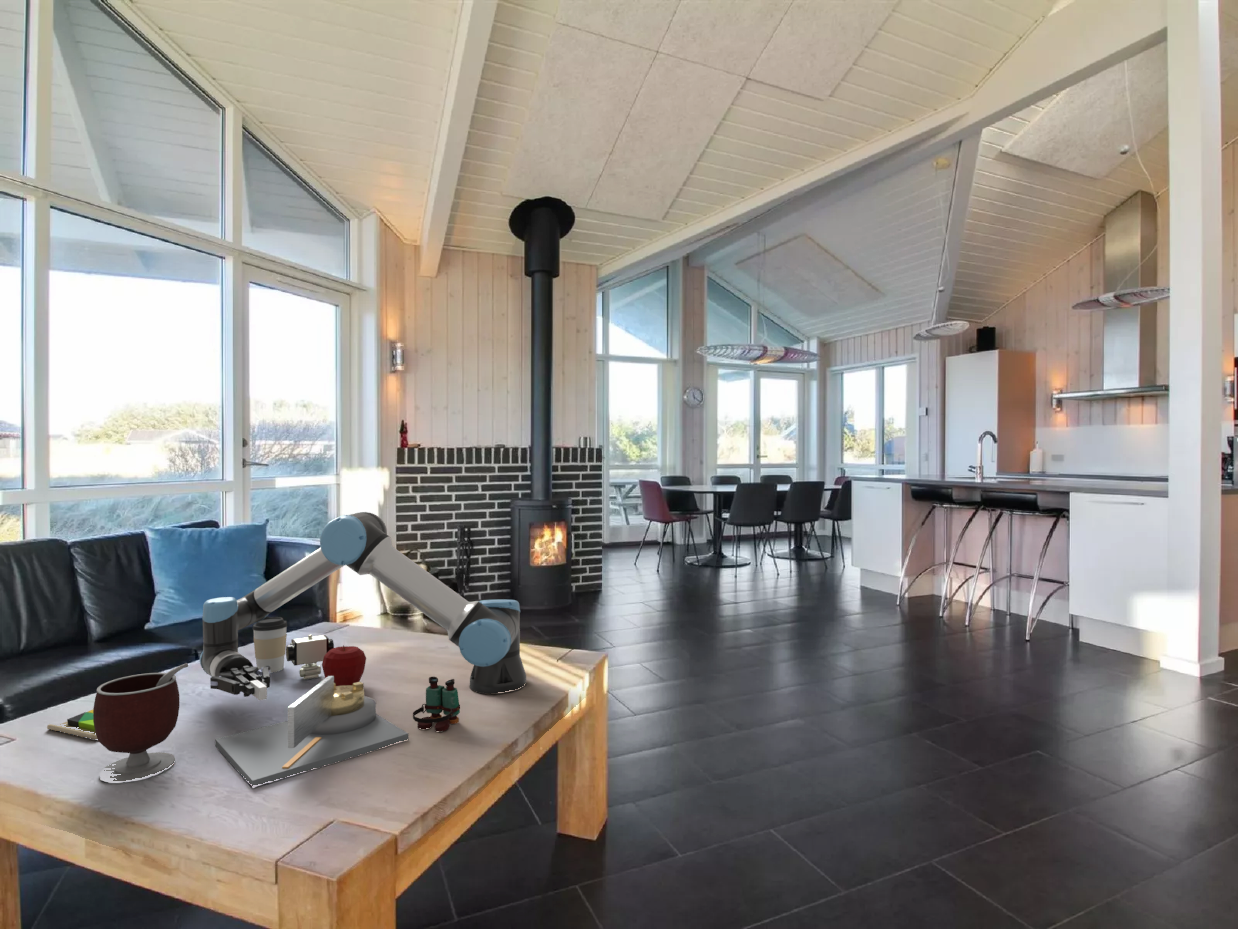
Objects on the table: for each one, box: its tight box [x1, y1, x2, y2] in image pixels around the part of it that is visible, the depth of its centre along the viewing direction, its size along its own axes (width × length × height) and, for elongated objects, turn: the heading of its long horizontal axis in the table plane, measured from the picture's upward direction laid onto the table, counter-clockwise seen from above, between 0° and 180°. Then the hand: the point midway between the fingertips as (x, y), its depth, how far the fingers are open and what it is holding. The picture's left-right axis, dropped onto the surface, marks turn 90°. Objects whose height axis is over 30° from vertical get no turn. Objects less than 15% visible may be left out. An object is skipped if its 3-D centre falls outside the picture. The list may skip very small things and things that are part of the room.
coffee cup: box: [252, 616, 288, 674], centre depth 197 cm, size 9×9×15 cm
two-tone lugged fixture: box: [287, 676, 365, 748], centre depth 146 cm, size 28×11×8 cm, turn 1°
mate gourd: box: [92, 662, 189, 781], centre depth 134 cm, size 16×14×20 cm
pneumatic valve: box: [285, 634, 335, 681], centre depth 190 cm, size 6×12×12 cm, turn 125°
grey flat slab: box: [214, 695, 409, 786], centre depth 146 cm, size 31×26×4 cm
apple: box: [321, 644, 367, 686], centre depth 181 cm, size 11×11×12 cm
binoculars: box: [412, 676, 461, 732], centre depth 155 cm, size 9×11×10 cm
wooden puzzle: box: [46, 709, 97, 740], centre depth 159 cm, size 18×19×4 cm
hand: (263, 693), depth 146 cm, fingers closed
